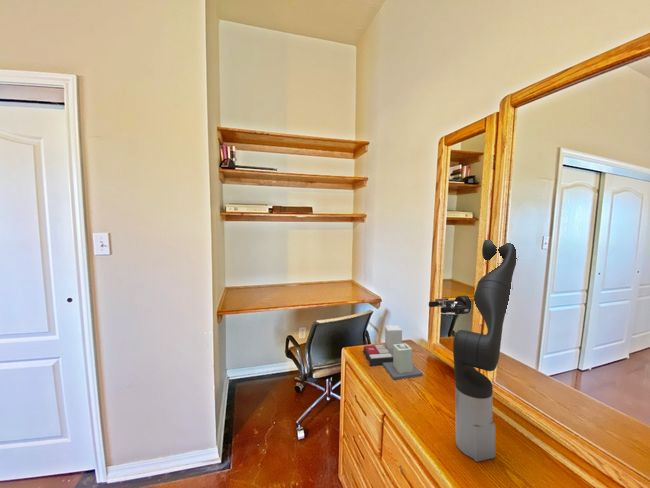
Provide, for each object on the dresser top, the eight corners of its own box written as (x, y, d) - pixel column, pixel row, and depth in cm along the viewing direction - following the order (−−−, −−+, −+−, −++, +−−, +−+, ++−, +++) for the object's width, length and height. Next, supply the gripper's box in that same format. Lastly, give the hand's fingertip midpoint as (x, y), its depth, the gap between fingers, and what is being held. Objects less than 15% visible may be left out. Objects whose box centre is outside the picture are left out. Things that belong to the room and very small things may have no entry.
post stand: (422, 375, 113) (422, 347, 113) (393, 380, 111) (393, 351, 110) (406, 360, 127) (406, 334, 126) (381, 363, 125) (380, 337, 124)
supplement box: (402, 355, 132) (402, 330, 131) (387, 355, 133) (387, 330, 132) (399, 348, 140) (398, 324, 139) (384, 348, 140) (384, 325, 139)
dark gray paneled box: (384, 343, 138) (393, 355, 123) (384, 352, 138) (394, 365, 123) (363, 345, 138) (370, 357, 123) (363, 353, 138) (370, 366, 123)
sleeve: (412, 371, 115) (412, 349, 114) (399, 373, 114) (399, 350, 113) (405, 364, 121) (405, 343, 120) (393, 366, 120) (393, 344, 119)
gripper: (458, 291, 120) (425, 294, 117) (482, 299, 106) (445, 302, 103) (458, 308, 120) (425, 311, 117) (482, 318, 106) (445, 322, 103)
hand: (434, 307), depth 110 cm, fingers open, 8 cm apart
